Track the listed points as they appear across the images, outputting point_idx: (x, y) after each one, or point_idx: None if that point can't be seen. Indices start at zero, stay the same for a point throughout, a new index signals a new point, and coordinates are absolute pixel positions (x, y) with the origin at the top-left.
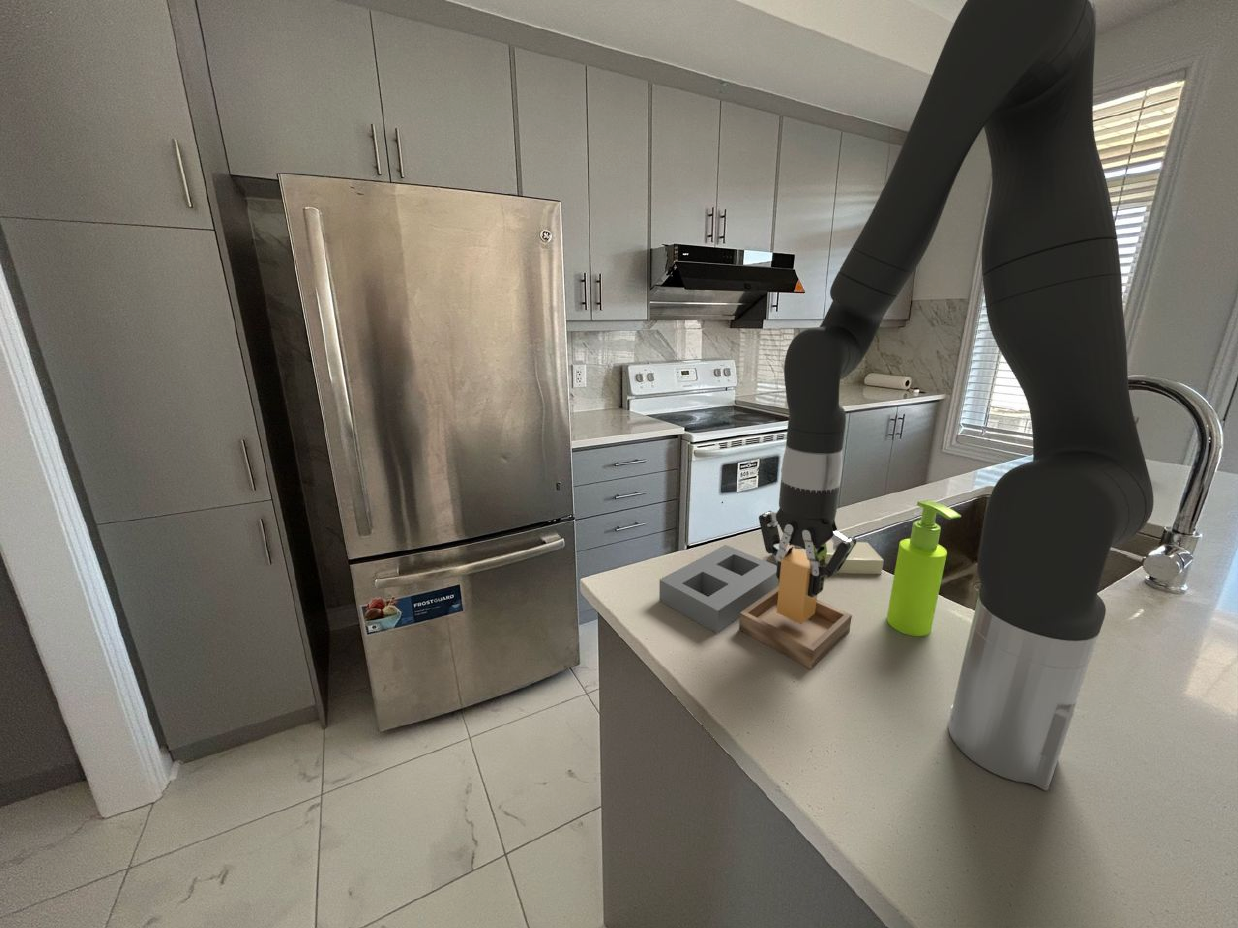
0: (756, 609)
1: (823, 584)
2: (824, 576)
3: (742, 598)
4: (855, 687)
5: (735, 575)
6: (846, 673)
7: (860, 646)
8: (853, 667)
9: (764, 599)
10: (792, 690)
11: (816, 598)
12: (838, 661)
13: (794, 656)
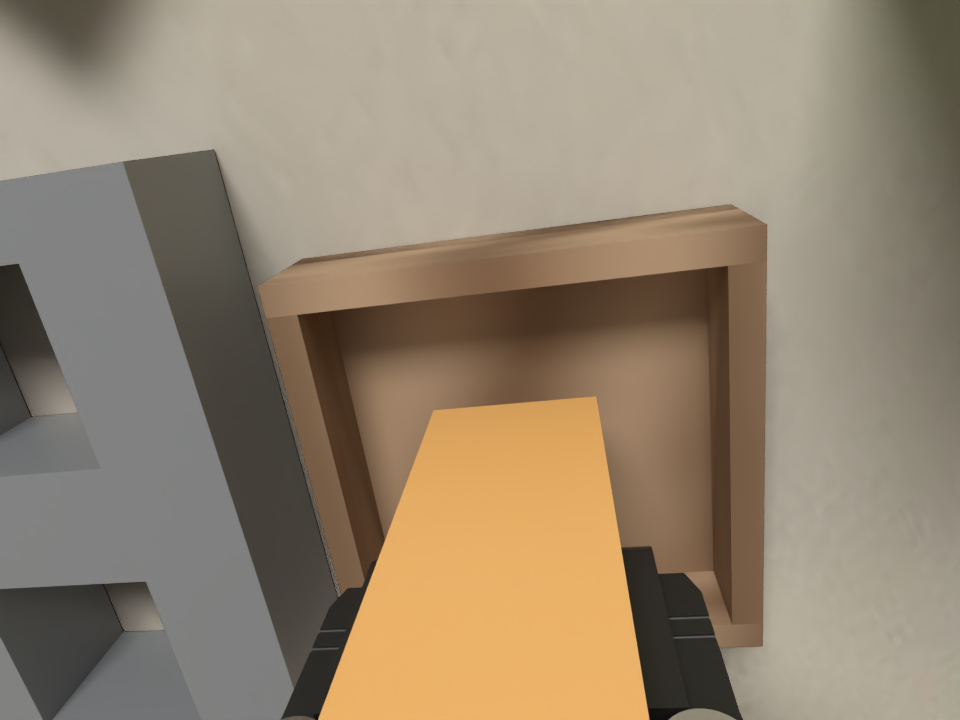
0: (367, 557)
1: (711, 627)
2: (732, 696)
3: (276, 583)
4: (922, 534)
5: (81, 493)
6: (858, 492)
7: (830, 272)
8: (867, 437)
9: (334, 493)
10: (742, 696)
11: (604, 452)
12: (796, 452)
13: None
